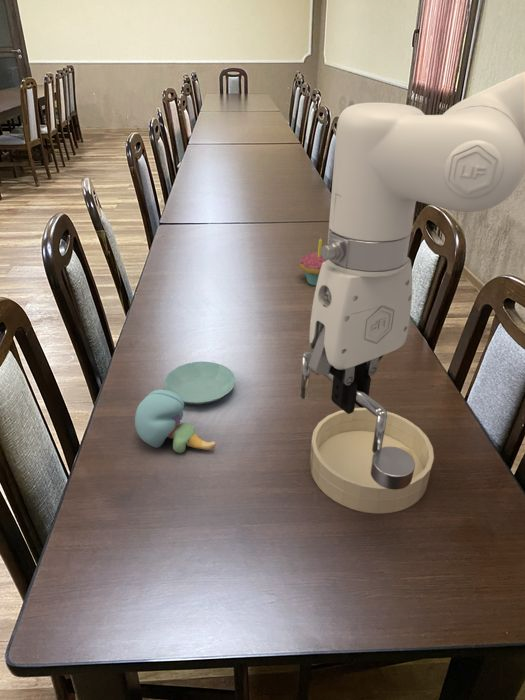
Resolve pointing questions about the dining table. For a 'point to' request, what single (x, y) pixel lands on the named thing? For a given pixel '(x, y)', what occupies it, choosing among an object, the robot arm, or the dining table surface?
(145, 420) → the multicolor toy piece
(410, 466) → the ladle
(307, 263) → the cupcake
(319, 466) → the bowl
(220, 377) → the saucer
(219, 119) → the dining table surface
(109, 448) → the dining table surface
